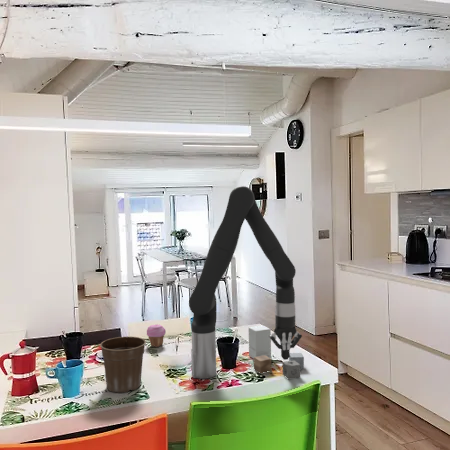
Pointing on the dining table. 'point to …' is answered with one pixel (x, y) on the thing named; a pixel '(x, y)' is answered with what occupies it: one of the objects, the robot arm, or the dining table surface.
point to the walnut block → (262, 363)
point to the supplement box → (259, 341)
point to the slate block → (297, 359)
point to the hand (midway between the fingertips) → (285, 358)
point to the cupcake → (156, 334)
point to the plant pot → (123, 363)
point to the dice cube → (291, 369)
